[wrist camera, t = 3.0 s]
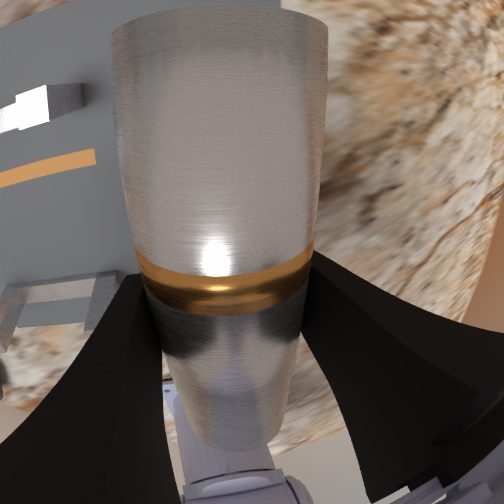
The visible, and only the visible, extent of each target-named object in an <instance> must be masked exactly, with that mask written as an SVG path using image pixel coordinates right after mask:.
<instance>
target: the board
mask: <svg viewBox="0 0 504 504" xmlns="http://www.w3.org/2000/svg"><path fill="white" fill-rule="evenodd" d="M208 4H250V5H262V6H269V7H276V8H280V0H75V1H71V2H68V3H65V4H62V5H58V6H55V7H52V8H50V9H47V10H44V11H41V12H39V13H36V14H33V15H31V16H28V17H26V18H23V19H21V20H19V21H16V22H14V23H12V24H10V25H8V26H5V27H3V28H1V29H0V109H2V108H4V107H7V106H9V105H12V104H14V103H16V96H17V95H19V94H22V93H25V92H28V91H30V90H33V89H36V88H39V87H42V86H46V85H56V84H71V83H83V88H84V101H85V108H83V109H80V110H77V111H74V112H71V113H69V114H66V115H63V116H60V117H58V118H55V119H53V120H50V121H47V122H44V123H40V124H37V125H34V126H31V127H28V128H24V129H21V130H19V127H17V128H14V129H11V130H9V131H6V132H3V133H1V134H0V296H1V294H2V292H3V291H4V289H5V287H6V285H13V284H20V283H27V282H34V281H41V280H49V279H56V278H63V277H70V276H77V275H84V274H91V273H99V272H106V271H113V270H117V273H118V276H119V279H120V283H122V281H123V279H124V278H125V276H126V275H130V274H138V273H140V271H139V267H138V263H137V258H136V254H135V250H134V245H133V241H132V234H131V229H130V224H129V219H128V214H127V209H126V203H125V197H124V192H123V186H122V179H121V173H120V166H119V159H118V151H117V143H116V135H115V125H114V115H113V103H112V88H111V68H110V35H111V33H112V32H113V31H114V30H115V29H117V28H118V27H120V26H122V25H123V24H125V23H128V22H130V21H132V20H135V19H137V18H140V17H143V16H146V15H149V14H153V13H157V12H161V11H165V10H170V9H175V8H181V7H188V6H196V5H208ZM90 300H91V296H89V297H81V298H72V299H64V300H55V301H47V302H38V303H29V304H25V305H24V307H23V309H22V312H21V314H20V317H19V319H18V322H17V324H16V325H17V327H18V328H21V327H35V326H47V325H59V324H70V323H80V322H86V318H87V313H88V308H89V304H90Z"/></svg>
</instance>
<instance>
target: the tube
mask: <svg viewBox="0 0 504 504" xmlns="http://www.w3.org/2000/svg"><path fill="white" fill-rule="evenodd" d="M110 68H111V88H112V103H113V115H114V125H115V135H116V143H117V151H118V159H119V166H120V173H121V179H122V186H123V192H124V197H125V203H126V209H127V214H128V219H129V224H130V229H131V234H132V241H133V245H134V250H135V254H136V258H137V263H138V267H139V271H140V275H141V279H142V281H143V285H144V289H145V293H146V296H147V300H148V304H149V307H150V311H151V314H152V318H153V321H154V324H155V328H156V331H157V334H158V337H159V340H160V344H161V347H162V350H163V353H164V356H165V359H166V362H167V365H168V368H169V371H170V373H171V376H172V379H173V382H174V384H175V387H176V390H177V393H178V395H179V398H180V400H181V403H182V406H183V408H184V411H185V413H186V416H187V418H188V421H189V423H190V425H191V428H192V430H193V431H194V433H195V435H196V436H197V437H198V438H199V439H200V440H201V441H202V442H203V443H205V444H206V445H208V446H209V447H211V448H213V449H216V450H219V451H222V452H226V453H245V452H250V451H253V450H256V449H258V448H261V447H262V446H264V445H266V444H267V443H268V442H270V441H271V440H272V439H273V438H274V437H275V436H276V434H277V433H278V432H279V430H280V428H281V426H282V423H283V419H284V414H285V409H286V405H287V400H288V395H289V390H290V385H291V380H292V375H293V370H294V365H295V359H296V354H297V348H298V343H299V337H300V331H301V325H302V319H303V313H304V306H305V300H306V293H307V287H308V280H309V273H310V269H311V261H312V254H313V246H314V238H315V226H316V217H317V208H318V199H319V189H320V179H321V168H322V156H323V143H324V129H325V113H326V94H327V68H328V27H327V25H325V24H324V23H323V22H321V21H320V20H318V19H316V18H313V17H311V16H308V15H305V14H302V13H299V12H295V11H291V10H286V9H282V8H276V7H269V6H262V5H250V4H208V5H196V6H188V7H181V8H175V9H170V10H165V11H161V12H157V13H153V14H149V15H146V16H143V17H140V18H137V19H135V20H132V21H130V22H128V23H125V24H123V25H122V26H120V27H118V28H117V29H115V30H114V31H113V32H112V33H111V35H110Z"/></svg>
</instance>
